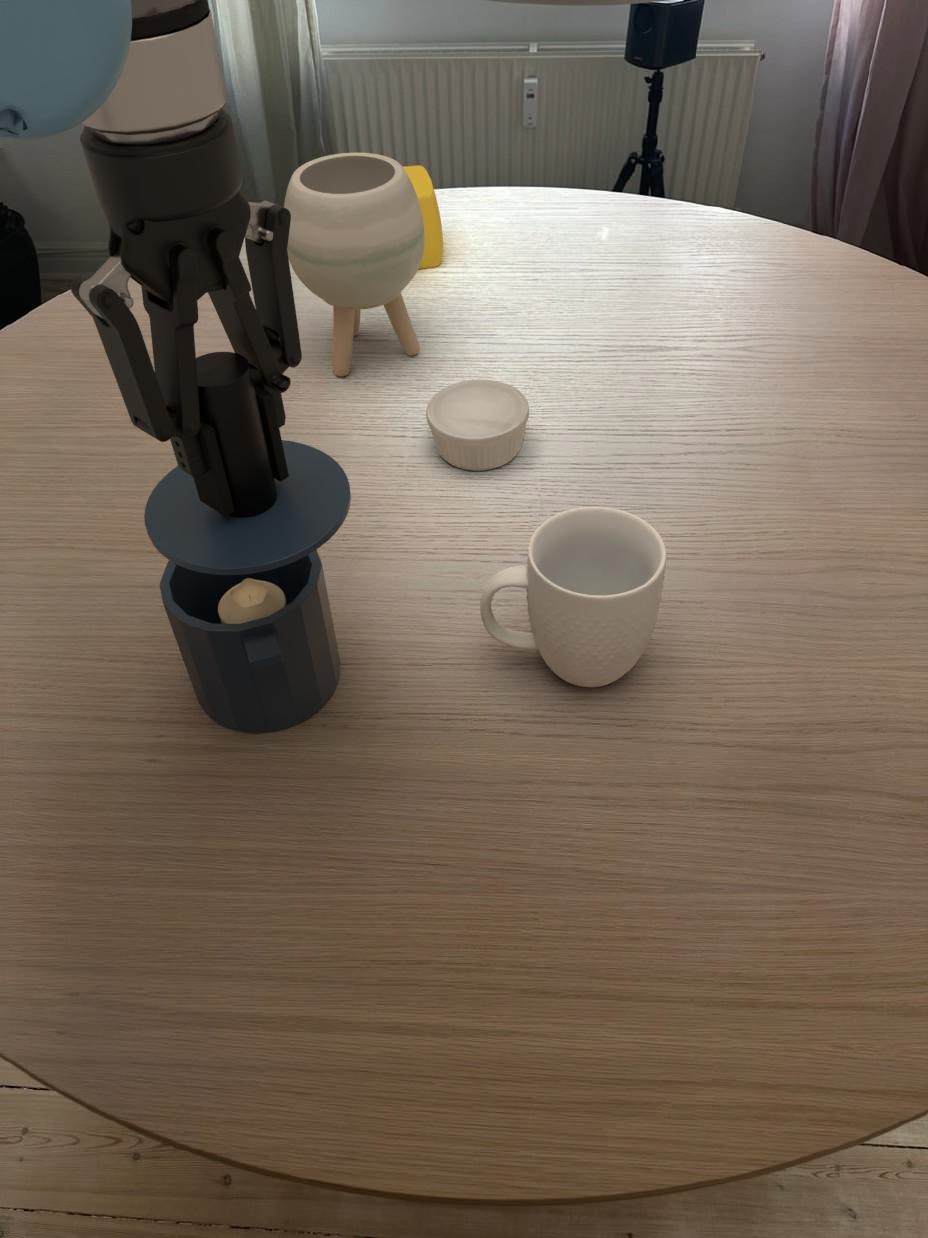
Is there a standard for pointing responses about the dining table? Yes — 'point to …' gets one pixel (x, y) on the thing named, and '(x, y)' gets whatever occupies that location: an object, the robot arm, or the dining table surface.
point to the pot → (256, 646)
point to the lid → (246, 488)
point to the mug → (586, 593)
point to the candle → (250, 601)
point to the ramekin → (478, 423)
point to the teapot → (428, 216)
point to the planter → (356, 241)
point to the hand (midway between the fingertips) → (244, 487)
